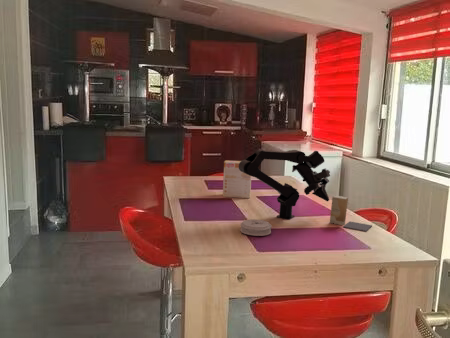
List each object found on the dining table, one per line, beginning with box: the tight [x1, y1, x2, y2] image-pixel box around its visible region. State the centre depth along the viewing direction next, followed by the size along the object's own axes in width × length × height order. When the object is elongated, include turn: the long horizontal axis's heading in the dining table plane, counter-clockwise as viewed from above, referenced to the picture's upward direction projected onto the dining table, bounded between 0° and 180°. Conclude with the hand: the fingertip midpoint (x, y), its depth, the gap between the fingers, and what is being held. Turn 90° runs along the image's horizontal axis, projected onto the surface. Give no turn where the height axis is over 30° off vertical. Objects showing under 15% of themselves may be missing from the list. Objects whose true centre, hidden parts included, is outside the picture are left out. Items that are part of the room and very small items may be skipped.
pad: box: [342, 221, 373, 233], centre depth 199 cm, size 10×10×1 cm
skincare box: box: [329, 195, 349, 226], centre depth 203 cm, size 6×4×12 cm
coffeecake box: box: [222, 159, 252, 199], centre depth 247 cm, size 15×7×20 cm, turn 84°
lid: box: [240, 218, 272, 237], centre depth 185 cm, size 13×13×5 cm
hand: (328, 200), depth 205 cm, fingers closed
